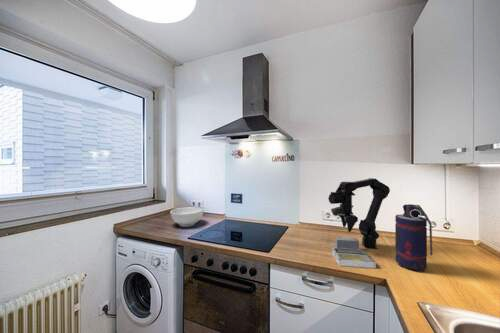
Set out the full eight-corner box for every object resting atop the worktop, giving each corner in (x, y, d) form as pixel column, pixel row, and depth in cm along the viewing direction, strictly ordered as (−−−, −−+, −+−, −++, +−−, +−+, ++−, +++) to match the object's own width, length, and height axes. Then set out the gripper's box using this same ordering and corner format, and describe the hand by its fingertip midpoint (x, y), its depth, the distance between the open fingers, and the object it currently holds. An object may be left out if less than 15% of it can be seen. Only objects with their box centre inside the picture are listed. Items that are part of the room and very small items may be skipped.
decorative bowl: (162, 228, 155) (162, 212, 155) (183, 219, 181) (183, 206, 181) (192, 231, 147) (192, 215, 147) (209, 221, 173) (209, 208, 173)
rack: (362, 254, 109) (362, 248, 109) (375, 268, 94) (375, 261, 94) (331, 252, 111) (331, 246, 111) (339, 265, 96) (339, 258, 96)
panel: (356, 248, 117) (356, 238, 117) (358, 251, 113) (358, 240, 113) (335, 247, 119) (335, 237, 119) (337, 250, 115) (337, 239, 115)
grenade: (393, 265, 96) (393, 204, 96) (397, 258, 104) (397, 201, 104) (431, 277, 86) (431, 209, 86) (433, 267, 95) (433, 205, 95)
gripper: (328, 200, 127) (328, 224, 127) (336, 205, 108) (336, 234, 108) (346, 200, 125) (346, 224, 125) (358, 206, 106) (358, 235, 106)
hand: (346, 229), depth 116 cm, fingers open, 9 cm apart
